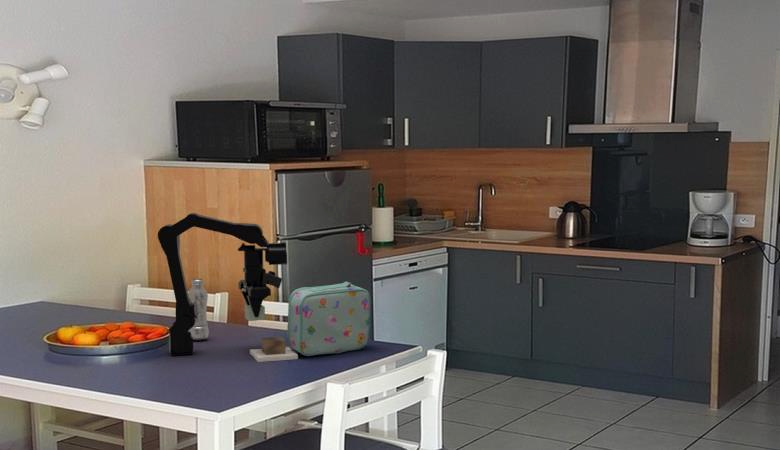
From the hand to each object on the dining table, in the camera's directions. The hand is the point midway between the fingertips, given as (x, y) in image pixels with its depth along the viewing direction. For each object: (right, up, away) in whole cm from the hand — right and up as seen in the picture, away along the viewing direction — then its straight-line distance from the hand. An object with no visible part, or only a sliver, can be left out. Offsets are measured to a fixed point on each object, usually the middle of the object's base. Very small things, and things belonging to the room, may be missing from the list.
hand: (254, 315), depth 283 cm
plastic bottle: (-21, -10, +18) cm, 30 cm away
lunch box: (+23, -12, +2) cm, 26 cm away
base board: (+6, -12, -5) cm, 14 cm away
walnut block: (+6, -11, -5) cm, 13 cm away
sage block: (0, -1, 0) cm, 1 cm away
